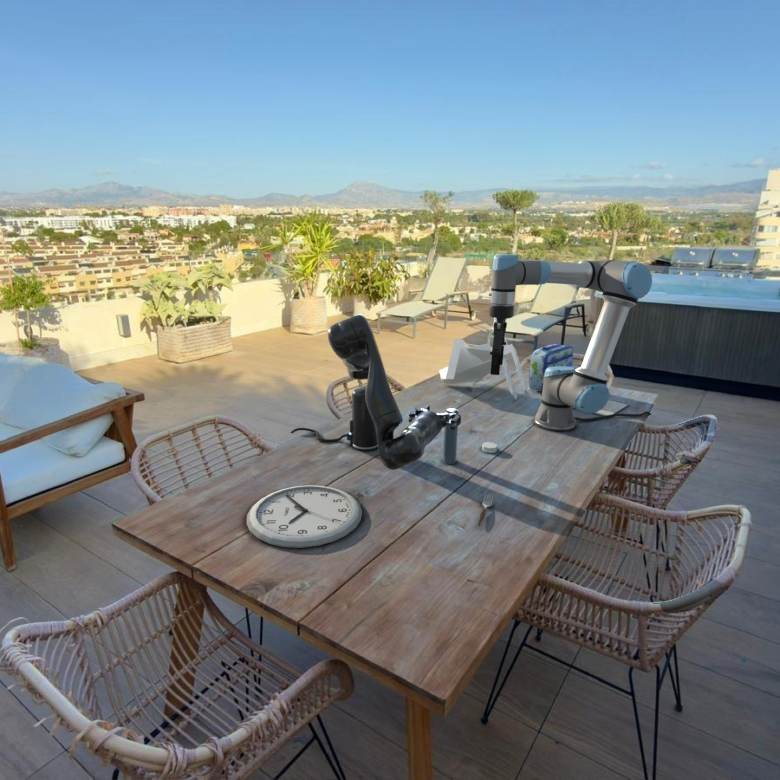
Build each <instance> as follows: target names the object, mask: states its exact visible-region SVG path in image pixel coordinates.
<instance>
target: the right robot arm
mask: <svg viewBox="0 0 780 780" xmlns="http://www.w3.org/2000/svg"><path fill="white" fill-rule="evenodd" d="M545 284H557V285H559V284H560V285H575V286H576V287H577V288H580V289H588V290H593V291H597V292H600V293H602V294H601V298H602V299H603V305H602V307H601V310H600V313H599V316H598V319H597V321H596V324H595V327H594V330H593V332H592V335H591V338H590V340H589V343H588V346H587V348H586V351H585V353H584V357H583V359H582V362H581V364H580V367H577V368H576V367H574V366H572V367H565V366H556V367H549V368H547V369H546V370H545V374H544V380H543V391H541V393H542V394H541V402H540V405H539V407H538V410H537V411H536V413H535V417H534V424H535V425H536V426H537V427H539V428H542V429H544V430H549V431H556V432H567V431H572V430H574V429H575V428H576V421H581V422H591V421H596V420H602V419H609V418H615V417H642V416H644V415H648V416H652V413H651V412H650V411H648V410H645V411H644V412H641V413H614V414H612V415H606V416H604V415H600V416H595V417H588V418H587V417H586V418H584V417H577V416H575V413H574V409H575V410H577V411H578V412H581V413H585V414H588V415H590V414H591V415H593V414H596V412H597V411H599V410H601V409H602V408H603V407H604V406H605V405H606V403H607V402H608V400H609V399H610V390H609V387H607V383H608V380H609V378H608V377H607V375H606V373H607V370H608V367H609V365H610V362H611V360H612V357H613V354H614V352H615V350H616V346H617V344H618V341H619V338H620V336H621V333H622V331H623V327H624V326H625V322H626V320H627V317H628V315H629V312H630V310H631V308H633V307H635V306H637V304H638V301H639V299H642V298H644V297H645V296H647V295H648V294H649V292H650V290H651V288H652V285H653V275H652V273H651V270H650V268H649V266H648V265H646V264H645V263H642V262H639V261H634V260H629V261H627V260H615V259H599V260H581V261H579V262H567V261H556V260H555V261H554V260H539V259H538V260H537V259H528V258H527V259H526V258H519V256H518V255H517V254H514V253H513V254H512V253H498V254H497V253H496V254H495V255H494V256H493V261H492V267H491V286H490V293H488V297H490V299H489V301H490V305H489V312H488V315H489V317H490V318H493V319H495V318H497V320H496V321H494V323H493V341H492V347H491V348H492V352H490V355H492V361H491V372H490V375H492V376H500V371H501V366H502V364H503V353H504V346H503V345H506V342H504V341H505V337H506V332H507V327H508V322H507V319H511V318H513V317H514V312H515V311H514V310H515V306H514V305H515V302H516V301H515V300H516V288H517V286H540V285H545Z"/></svg>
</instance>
